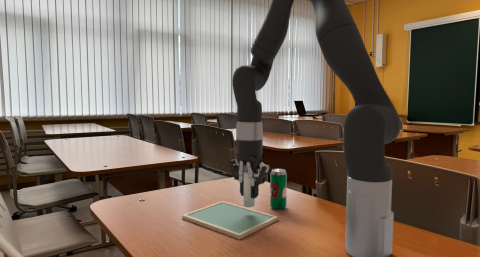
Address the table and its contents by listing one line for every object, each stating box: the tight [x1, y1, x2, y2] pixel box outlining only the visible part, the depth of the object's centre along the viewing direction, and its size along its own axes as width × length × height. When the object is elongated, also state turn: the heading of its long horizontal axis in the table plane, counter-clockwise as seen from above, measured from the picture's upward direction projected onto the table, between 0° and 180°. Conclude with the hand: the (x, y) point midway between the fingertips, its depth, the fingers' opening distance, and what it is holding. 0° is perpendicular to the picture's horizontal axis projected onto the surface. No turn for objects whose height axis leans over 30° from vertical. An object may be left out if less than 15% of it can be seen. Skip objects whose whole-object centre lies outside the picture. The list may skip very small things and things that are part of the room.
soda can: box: [269, 168, 288, 211], centre depth 106 cm, size 5×5×12 cm
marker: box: [243, 165, 256, 208], centre depth 98 cm, size 3×3×12 cm
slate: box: [181, 200, 279, 240], centre depth 97 cm, size 22×17×1 cm
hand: (248, 196), depth 99 cm, fingers closed on marker, 3 cm apart
